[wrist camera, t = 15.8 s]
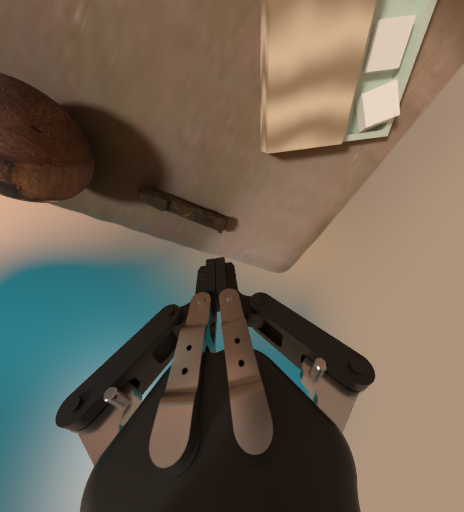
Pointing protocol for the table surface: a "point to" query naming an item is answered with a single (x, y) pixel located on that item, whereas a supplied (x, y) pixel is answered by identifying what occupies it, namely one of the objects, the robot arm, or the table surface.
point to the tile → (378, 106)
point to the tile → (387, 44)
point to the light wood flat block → (310, 70)
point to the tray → (387, 6)
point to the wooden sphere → (40, 146)
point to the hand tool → (182, 208)
